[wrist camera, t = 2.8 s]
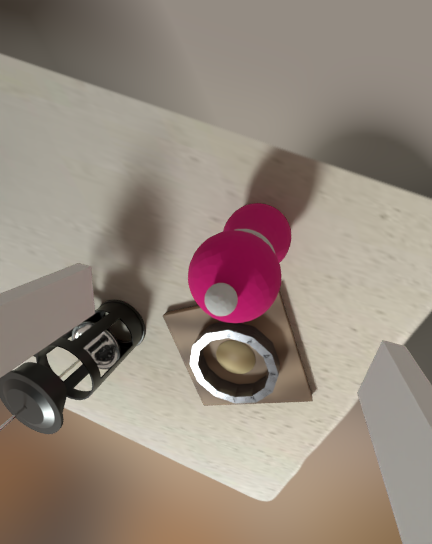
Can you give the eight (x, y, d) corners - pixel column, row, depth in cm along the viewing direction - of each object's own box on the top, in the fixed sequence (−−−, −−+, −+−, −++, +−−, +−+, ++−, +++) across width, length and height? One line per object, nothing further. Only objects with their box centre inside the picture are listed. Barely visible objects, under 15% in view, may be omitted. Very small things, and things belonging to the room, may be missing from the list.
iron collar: (184, 328, 37) (178, 338, 35) (263, 314, 33) (261, 324, 30) (212, 392, 40) (208, 404, 38) (288, 387, 36) (288, 401, 34)
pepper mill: (250, 267, 32) (200, 380, 14) (221, 220, 31) (127, 278, 13) (302, 240, 29) (320, 340, 11) (272, 187, 28) (239, 204, 10)
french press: (156, 320, 40) (12, 472, 19) (140, 357, 44) (7, 515, 23) (96, 284, 41) (-102, 393, 20) (86, 324, 45) (-87, 448, 24)
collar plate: (166, 312, 39) (162, 316, 38) (278, 287, 32) (278, 291, 31) (206, 399, 43) (203, 406, 42) (311, 394, 36) (312, 401, 35)
